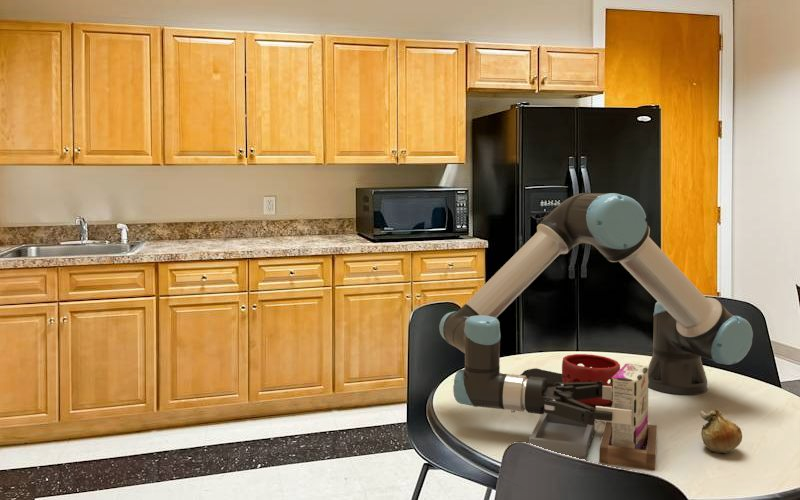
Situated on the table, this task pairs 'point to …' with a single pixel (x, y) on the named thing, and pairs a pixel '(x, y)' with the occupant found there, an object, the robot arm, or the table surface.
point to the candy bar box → (631, 405)
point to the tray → (563, 435)
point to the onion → (720, 433)
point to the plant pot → (590, 373)
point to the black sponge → (544, 375)
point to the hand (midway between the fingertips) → (633, 406)
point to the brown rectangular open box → (628, 450)
